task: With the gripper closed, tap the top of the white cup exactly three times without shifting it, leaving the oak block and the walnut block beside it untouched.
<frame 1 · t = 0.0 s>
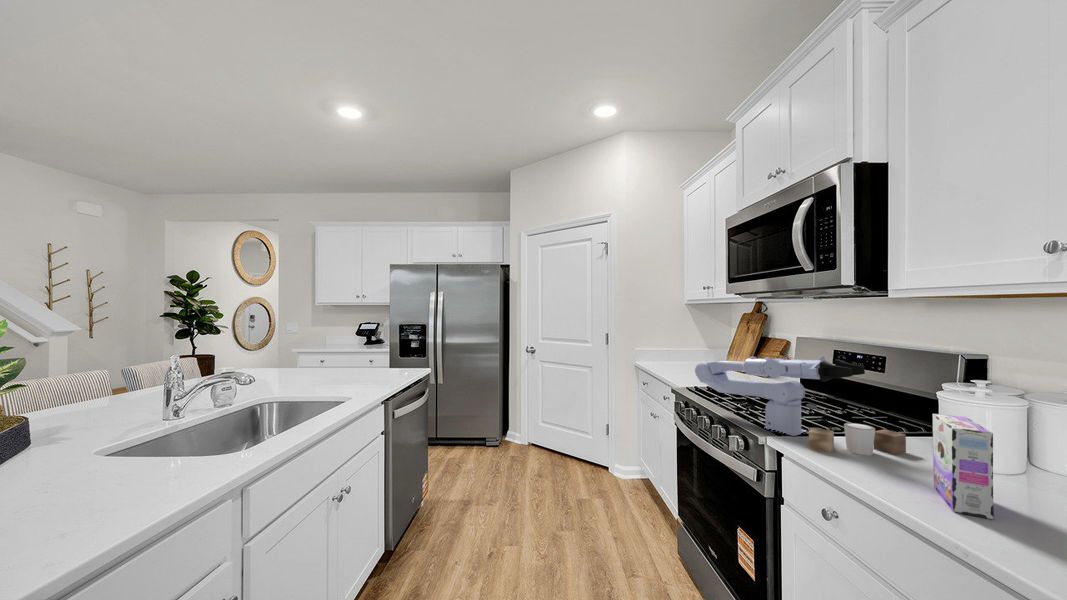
hand: (858, 371, 116), 22 cm above the worktop, tool horizontal, fingers open, 7 cm apart
walnut block: (889, 451, 115), on the worktop
candy box: (961, 503, 85), on the worktop
oak block: (821, 449, 116), on the worktop
white cup: (859, 452, 114), on the worktop
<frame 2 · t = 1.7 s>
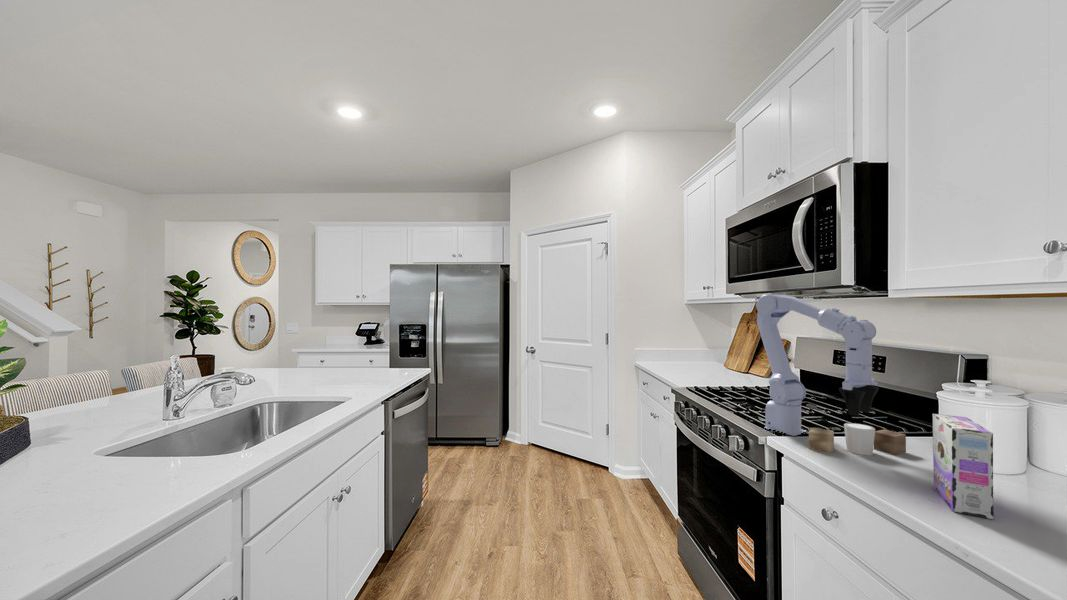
hand: (859, 413, 114), 10 cm above the worktop, tool pointing down, fingers open, 6 cm apart
nothing on the worktop moved.
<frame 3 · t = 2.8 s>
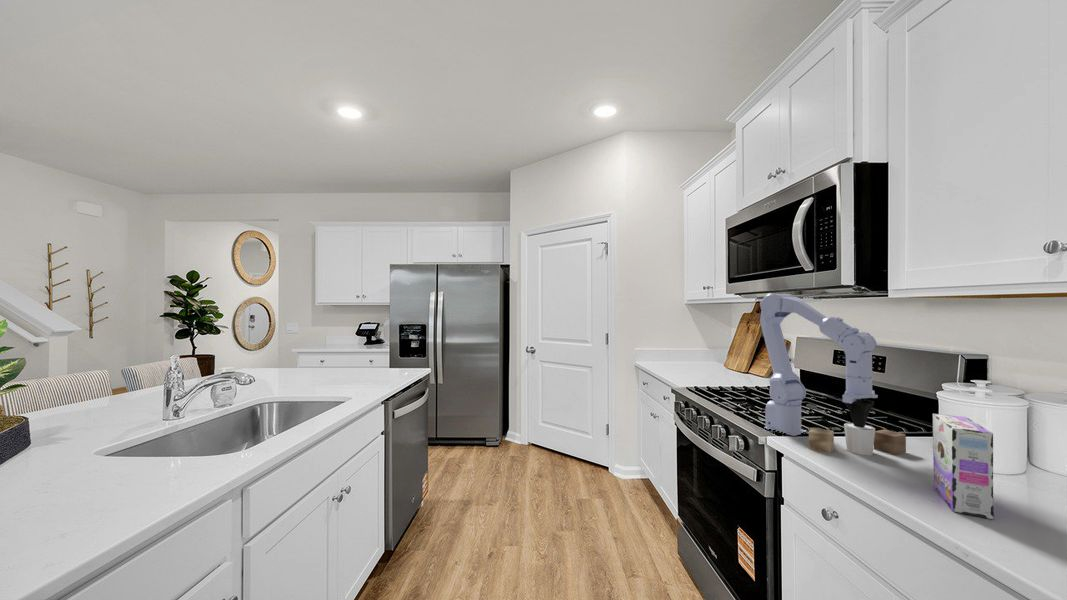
hand: (859, 426, 114), 7 cm above the worktop, tool pointing down, fingers closed, pressing on white cup
white cup: (859, 452, 114), on the worktop, touching gripper
everything else where it was.
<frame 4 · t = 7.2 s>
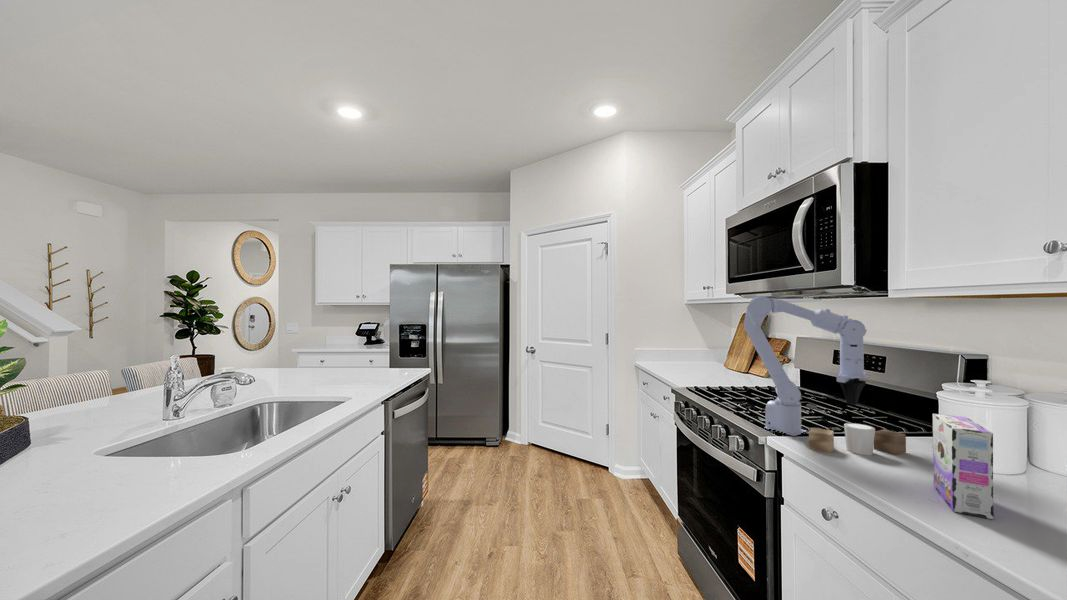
hand: (852, 404, 125), 10 cm above the worktop, tool pointing down, fingers closed
white cup: (859, 452, 114), on the worktop
everything else where it was.
at the end: white cup moved 0.2 cm from its start; white cup tilted 0°; oak block moved 0.1 cm from its start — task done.
